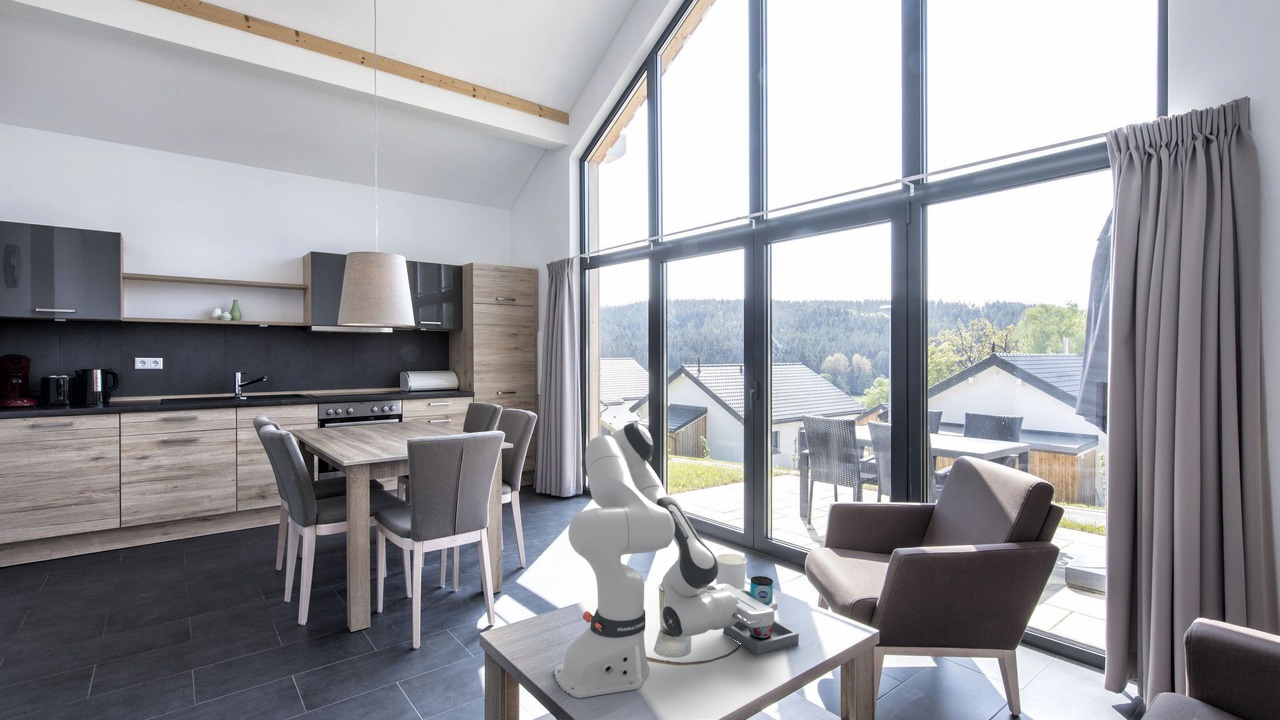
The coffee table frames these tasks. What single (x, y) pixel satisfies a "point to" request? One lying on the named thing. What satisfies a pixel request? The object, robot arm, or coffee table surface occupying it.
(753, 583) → the beverage can
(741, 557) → the candle holder
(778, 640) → the box
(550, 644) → the coffee table surface
